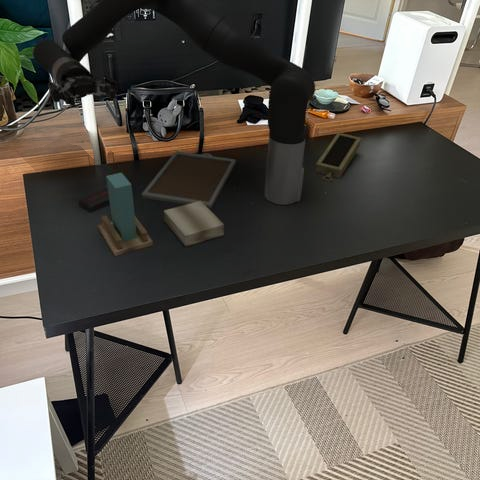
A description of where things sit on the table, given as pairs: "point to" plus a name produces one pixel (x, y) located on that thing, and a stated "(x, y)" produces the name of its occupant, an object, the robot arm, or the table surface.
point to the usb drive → (95, 200)
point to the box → (337, 156)
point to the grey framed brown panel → (190, 179)
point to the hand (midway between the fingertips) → (93, 98)
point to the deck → (193, 223)
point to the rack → (116, 241)
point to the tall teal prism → (122, 206)
